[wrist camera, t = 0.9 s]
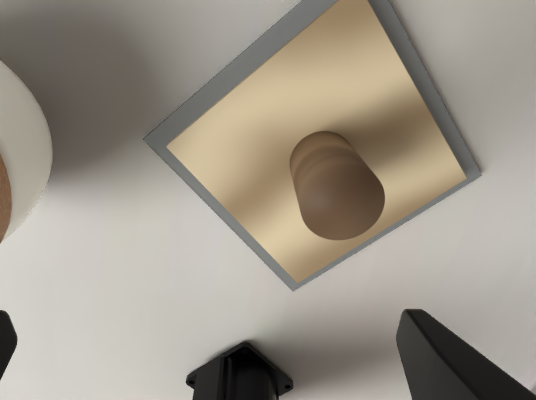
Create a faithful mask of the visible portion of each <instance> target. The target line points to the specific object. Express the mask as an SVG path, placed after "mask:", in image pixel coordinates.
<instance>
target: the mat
mask: <svg viewBox="0 0 536 400" xmlns="http://www.w3.org/2000/svg"><path fill="white" fill-rule="evenodd" d="M336 1H337V0H302V1H301V2H300V3H299V4H298V5H296V6H295V7H294V8H293V9H292V10H291V11H290V12H288V13H287V14H286V15H285V16H284V17H283V18H282V19H280V20H279V21H278V22H277V23H276V24H275V25H273V26H272V27H271V28H270V29H269V30H268V31H267V32H265V33H264V34H263V35H262V36H261V37H260V38H259V39H257V40H256V41H255V42H254V43H253V44H252V45H251V46H249V47H248V48H247V49H246V50H245V51H244V52H242V53H241V54H240V55H239V56H238V57H237V58H236V59H234V60H233V61H232V62H231V63H230V64H229V65H228V66H226V67H225V68H224V69H223V70H222V71H221V72H220V73H218V74H217V75H216V76H215V77H214V78H213V79H212V80H210V81H209V82H208V83H207V84H206V85H205V86H203V87H202V88H201V89H200V90H199V91H198V92H197V93H195V94H194V95H193V96H192V97H191V98H190V99H189V100H187V101H186V102H185V103H184V104H183V105H182V106H181V107H179V108H178V109H177V110H176V111H175V112H174V113H173V114H171V115H170V116H169V117H168V118H167V119H166V120H164V121H163V122H162V123H161V124H160V125H159V126H158V127H156V128H155V129H154V130H153V131H152V132H151V133H150V134H148V135H147V136H146V137H145V138H144V139H143V140H144V141H145V142H146V143H147V144H148V145H149V146H150V147H151V148H152V149H153V150H154V151H155V152H156V153H157V154H158V155H159V156H160V157H161V158H162V159H163V160H164V161H165V162H166V163H167V164H168V165H169V166H170V167H171V168H172V169H173V170H174V171H175V172H176V173H177V174H178V175H179V176H180V177H181V178H182V179H183V180H184V181H185V182H186V183H187V184H188V185H189V187H190V188H191V189H192V190H193V191H194V192H195V193H196V194H197V195H198V196H199V197H200V198H201V199H202V200H203V201H204V202H205V203H206V204H207V205H208V206H209V207H210V208H211V209H212V210H213V211H214V212H215V213H216V214H217V215H218V216H219V217H220V218H221V219H222V220H223V221H224V222H225V223H226V224H227V225H228V226H229V227H230V228H231V229H232V230H233V231H234V232H235V233H236V234H237V235H238V236H239V237H240V238H241V239H242V240H243V241H244V242H245V243H246V244H247V245H248V246H249V247H250V248H251V249H252V250H253V251H254V252H255V253H256V254H257V255H258V257H259V258H260V259H261V260H262V261H263V262H264V263H265V264H266V265H267V266H268V267H269V268H270V269H271V270H272V271H273V272H274V273H275V274H276V275H277V276H278V277H279V278H280V279H281V280H282V281H283V282H284V283H285V284H286V285H287V286H288V287H289V288H290V289H291V290H292V291H295V290H296V289H298V288H300V287H301V286H303V285H304V284H306V283H308V282H309V281H311V280H313V279H314V278H316V277H318V276H319V275H321V274H322V273H324V272H326V271H327V270H329V269H331V268H332V267H334V266H335V265H337V264H339V263H340V262H342V261H344V260H345V259H347V258H348V257H350V256H352V255H353V254H355V253H357V252H358V251H360V250H361V249H363V248H365V247H366V246H368V245H370V244H371V243H373V242H374V241H376V240H378V239H379V238H381V237H383V236H384V235H386V234H387V233H389V232H391V231H392V230H394V229H396V228H397V227H399V226H400V225H402V224H404V223H405V222H407V221H409V220H410V219H412V218H413V217H415V216H417V215H418V214H420V213H422V212H423V211H425V210H426V209H428V208H430V207H431V206H433V205H435V204H436V203H438V202H440V201H441V200H443V199H444V198H446V197H448V196H449V195H451V194H453V193H454V192H456V191H457V190H459V189H461V188H462V187H464V186H466V185H467V184H469V183H470V182H472V181H474V180H475V179H477V178H479V177H480V176H482V175H481V173H480V171H479V169H478V167H477V166H476V164H475V162H474V160H473V158H472V156H471V154H470V152H469V151H468V149H467V147H466V145H465V143H464V141H463V139H462V137H461V136H460V134H459V132H458V130H457V128H456V126H455V124H454V122H453V121H452V119H451V117H450V115H449V113H448V111H447V109H446V107H445V106H444V104H443V102H442V100H441V98H440V96H439V94H438V92H437V91H436V89H435V87H434V85H433V83H432V81H431V79H430V77H429V76H428V74H427V72H426V70H425V68H424V66H423V64H422V62H421V61H420V59H419V57H418V55H417V53H416V51H415V49H414V47H413V46H412V44H411V42H410V40H409V38H408V36H407V34H406V32H405V31H404V29H403V27H402V25H401V23H400V21H399V19H398V17H397V16H396V14H395V12H394V10H393V8H392V6H391V4H390V2H389V1H388V0H368V2H369V4H370V6H371V8H372V9H373V11H374V13H375V15H376V17H377V18H378V20H379V22H380V24H381V26H382V27H383V29H384V31H385V33H386V34H387V36H388V38H389V40H390V42H391V43H392V45H393V47H394V49H395V51H396V52H397V54H398V56H399V58H400V60H401V61H402V63H403V65H404V67H405V69H406V70H407V72H408V74H409V76H410V77H411V79H412V81H413V83H414V85H415V86H416V88H417V90H418V92H419V94H420V95H421V97H422V99H423V101H424V103H425V104H426V106H427V108H428V110H429V112H430V113H431V115H432V117H433V119H434V120H435V122H436V124H437V126H438V128H439V129H440V131H441V133H442V135H443V137H444V138H445V140H446V142H447V144H448V146H449V147H450V149H451V151H452V153H453V154H454V156H455V158H456V160H457V162H458V163H459V165H460V167H461V169H462V171H463V172H464V174H465V176H466V178H467V179H465V180H463V181H462V182H460V183H459V184H457V185H455V186H454V187H452V188H451V189H449V190H447V191H446V192H444V193H442V194H441V195H439V196H438V197H436V198H434V199H433V200H431V201H430V202H428V203H426V204H425V205H423V206H421V207H420V208H418V209H417V210H415V211H413V212H412V213H410V214H409V215H407V216H405V217H404V218H402V219H400V220H399V221H397V222H396V223H394V224H392V225H391V226H389V227H388V228H386V229H384V230H383V231H381V232H380V233H378V234H376V235H375V236H373V237H371V238H370V239H368V240H367V241H365V242H363V243H362V244H360V245H359V246H357V247H355V248H354V249H352V250H350V251H349V252H347V253H346V254H344V255H342V256H341V257H339V258H338V259H336V260H334V261H333V262H331V263H329V264H328V265H326V266H325V267H323V268H321V269H320V270H318V271H317V272H315V273H313V274H312V275H310V276H309V277H307V278H305V279H304V280H302V281H300V282H299V283H297V282H296V281H295V280H294V279H293V278H292V277H291V276H290V275H289V274H288V273H287V272H286V271H285V270H284V269H283V268H282V267H281V266H280V265H279V264H278V263H277V261H276V260H275V259H274V258H273V257H272V256H271V255H270V254H269V253H268V252H267V251H266V250H265V249H264V248H263V247H262V246H261V245H260V244H259V243H258V242H257V241H256V240H255V239H254V238H253V237H252V236H251V234H250V233H249V232H248V231H247V230H246V229H245V228H244V227H243V226H242V225H241V224H240V223H239V222H238V221H237V220H236V219H235V218H234V217H233V216H232V215H231V214H230V213H229V212H228V211H227V210H226V209H225V208H224V206H223V205H222V204H221V203H220V202H219V201H218V200H217V199H216V198H215V197H214V196H213V195H212V194H211V193H210V192H209V191H208V190H207V189H206V188H205V187H204V186H203V185H202V184H201V183H200V182H199V181H198V179H197V178H196V177H195V176H194V175H193V174H192V173H191V172H190V171H189V170H188V169H187V168H186V167H185V166H184V165H183V164H182V163H181V162H180V161H179V160H178V159H177V158H176V157H175V156H174V155H173V154H172V152H171V151H170V150H169V149H168V148H167V147H166V146H167V145H168V143H169V142H170V141H171V140H172V139H174V138H175V137H176V136H177V135H178V134H180V133H181V132H182V131H183V130H184V129H185V128H187V127H188V126H189V125H190V124H191V123H193V122H194V121H195V120H196V119H197V118H198V117H200V116H201V115H202V114H203V113H204V112H206V111H207V110H208V109H209V108H210V107H211V106H213V105H214V104H215V103H216V102H217V101H219V100H220V99H221V98H222V97H223V96H225V95H226V94H227V93H228V92H229V91H230V90H232V89H233V88H234V87H235V86H236V85H238V84H239V83H240V82H241V81H242V80H243V79H245V78H246V77H247V76H248V75H249V74H251V73H252V72H253V71H254V70H255V69H256V68H258V67H259V66H260V65H261V64H262V63H264V62H265V61H266V60H267V59H268V58H269V57H271V56H272V55H273V54H274V53H275V52H277V51H278V50H279V49H280V48H281V47H282V46H284V45H285V44H286V43H287V42H288V41H290V40H291V39H292V38H293V37H294V36H295V35H297V34H298V33H299V32H300V31H301V30H303V29H304V28H305V27H306V26H307V25H309V24H310V23H311V22H312V21H313V20H314V19H316V18H317V17H318V16H319V15H320V14H322V13H323V12H324V11H325V10H326V9H327V8H329V7H330V6H331V5H332V4H333V3H335V2H336Z"/></svg>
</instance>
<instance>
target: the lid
mask: <svg viewBox="0 0 536 400" xmlns="http://www.w3.org/2000/svg"><path fill="white" fill-rule="evenodd" d="M166 147H167V148H168V149H169V150H170V151H171V152H172V154H173V155H174V156H175V157H176V158H177V159H178V160H179V161H180V162H181V163H182V164H183V165H184V166H185V167H186V168H187V169H188V170H189V171H190V172H191V173H192V174H193V175H194V176H195V177H196V178H197V179H198V181H199V182H200V183H201V184H202V185H203V186H204V187H205V188H206V189H207V190H208V191H209V192H210V193H211V194H212V195H213V196H214V197H215V198H216V199H217V200H218V201H219V202H220V203H221V204H222V205H223V206H224V208H225V209H226V210H227V211H228V212H229V213H230V214H231V215H232V216H233V217H234V218H235V219H236V220H237V221H238V222H239V223H240V224H241V225H242V226H243V227H244V228H245V229H246V230H247V231H248V232H249V233H250V234H251V236H252V237H253V238H254V239H255V240H256V241H257V242H258V243H259V244H260V245H261V246H262V247H263V248H264V249H265V250H266V251H267V252H268V253H269V254H270V255H271V256H272V257H273V258H274V259H275V260H276V261H277V263H278V264H279V265H280V266H281V267H282V268H283V269H284V270H285V271H286V272H287V273H288V274H289V275H290V276H291V277H292V278H293V279H294V280H295V281H296V282H297V283H299V282H300V281H302V280H304V279H305V278H307V277H309V276H310V275H312V274H313V273H315V272H317V271H318V270H320V269H321V268H323V267H325V266H326V265H328V264H329V263H331V262H333V261H334V260H336V259H338V258H339V257H341V256H342V255H344V254H346V253H347V252H349V251H350V250H352V249H354V248H355V247H357V246H359V245H360V244H362V243H363V242H365V241H367V240H368V239H370V238H371V237H373V236H375V235H376V234H378V233H380V232H381V231H383V230H384V229H386V228H388V227H389V226H391V225H392V224H394V223H396V222H397V221H399V220H400V219H402V218H404V217H405V216H407V215H409V214H410V213H412V212H413V211H415V210H417V209H418V208H420V207H421V206H423V205H425V204H426V203H428V202H430V201H431V200H433V199H434V198H436V197H438V196H439V195H441V194H442V193H444V192H446V191H447V190H449V189H451V188H452V187H454V186H455V185H457V184H459V183H460V182H462V181H463V180H465V179H467V178H466V176H465V174H464V172H463V171H462V169H461V167H460V165H459V163H458V162H457V160H456V158H455V156H454V154H453V153H452V151H451V149H450V147H449V146H448V144H447V142H446V140H445V138H444V137H443V135H442V133H441V131H440V129H439V128H438V126H437V124H436V122H435V120H434V119H433V117H432V115H431V113H430V112H429V110H428V108H427V106H426V104H425V103H424V101H423V99H422V97H421V95H420V94H419V92H418V90H417V88H416V86H415V85H414V83H413V81H412V79H411V77H410V76H409V74H408V72H407V70H406V69H405V67H404V65H403V63H402V61H401V60H400V58H399V56H398V54H397V52H396V51H395V49H394V47H393V45H392V43H391V42H390V40H389V38H388V36H387V34H386V33H385V31H384V29H383V27H382V26H381V24H380V22H379V20H378V18H377V17H376V15H375V13H374V11H373V9H372V8H371V6H370V4H369V2H368V0H337V1H336V2H335V3H333V4H332V5H331V6H330V7H329V8H327V9H326V10H325V11H324V12H323V13H322V14H320V15H319V16H318V17H317V18H316V19H314V20H313V21H312V22H311V23H310V24H309V25H307V26H306V27H305V28H304V29H303V30H301V31H300V32H299V33H298V34H297V35H295V36H294V37H293V38H292V39H291V40H290V41H288V42H287V43H286V44H285V45H284V46H282V47H281V48H280V49H279V50H278V51H277V52H275V53H274V54H273V55H272V56H271V57H269V58H268V59H267V60H266V61H265V62H264V63H262V64H261V65H260V66H259V67H258V68H256V69H255V70H254V71H253V72H252V73H251V74H249V75H248V76H247V77H246V78H245V79H243V80H242V81H241V82H240V83H239V84H238V85H236V86H235V87H234V88H233V89H232V90H230V91H229V92H228V93H227V94H226V95H225V96H223V97H222V98H221V99H220V100H219V101H217V102H216V103H215V104H214V105H213V106H211V107H210V108H209V109H208V110H207V111H206V112H204V113H203V114H202V115H201V116H200V117H198V118H197V119H196V120H195V121H194V122H193V123H191V124H190V125H189V126H188V127H187V128H185V129H184V130H183V131H182V132H181V133H180V134H178V135H177V136H176V137H175V138H174V139H172V140H171V141H170V142H169V143H168V145H167V146H166Z"/></svg>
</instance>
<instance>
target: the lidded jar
mask: <svg viewBox="0 0 536 400" xmlns="http://www.w3.org/2000/svg"><path fill="white" fill-rule="evenodd" d="M52 161H53V147H52V141H51V135H50V130H49V127H48V124H47V121H46V118H45V116H44V114H43V112H42V110H41V108H40V105H39V104H38V102H37V101H36V99H35V97H34V96H33V94H32V93H31V91H30V90H29V89H28V88H27V87H26V85H25V84H24V83H23V82H22V81H21V79H20V78H19V77H18V76H17V75H16V74H15V73H13V72H12V71H11V70H10V69H9V68H8V67H7V66H6V65H5V64H4V63H3V62H2V61H0V244H1V243H2V242H3V241H4V240H5V239H6V238H7V237H8V236H9V235H11V234H12V233H13V232H14V231H15V230H16V229H17V228H18V227H19V226H20V225H21V224H22V223H23V221H24V220H25V219H26V218H27V216H28V215H29V214H30V213H31V211H32V210H33V208H34V207H35V206H36V204H37V203H38V201H39V199H40V198H41V196H42V194H43V192H44V190H45V188H46V185H47V183H48V180H49V176H50V171H51V166H52Z"/></svg>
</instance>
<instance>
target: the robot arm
mask: <svg viewBox="0 0 536 400" xmlns="http://www.w3.org/2000/svg"><path fill="white" fill-rule="evenodd" d="M396 341H397V346H398V350H399V354H400V357H401V361H402V364H403V368H404V371H405V375H406V379H407V382H408V386H409V389H410V393H411V397H412V400H536V395H535V394H533V393H532V392H531V391H529V390H528V389H527V388H526V387H524V386H523V385H522V384H520V383H519V382H518V381H516V380H515V379H514V378H512V377H511V376H510V375H508V374H507V373H506V372H504V371H503V370H502V369H500V368H499V367H498V366H497V365H495V364H494V363H493V362H491V361H490V360H489V359H487V358H486V357H485V356H483V355H482V354H481V353H479V352H478V351H477V350H475V349H474V348H473V347H472V346H470V345H469V344H468V343H466V342H465V341H464V340H462V339H461V338H460V337H458V336H457V335H456V334H454V333H453V332H452V331H450V330H449V329H448V328H446V327H445V326H444V325H443V324H441V323H440V322H439V321H437V320H436V319H435V318H433V317H432V316H431V315H429V314H428V313H427V312H425V311H424V310H422V309H405V310H404V311H403V312H402V315H401V319H400V323H399V326H398V330H397V334H396ZM16 345H17V334H16V332H15V329H14V327H13V324H12V322H11V319H10V317H9V315H8V313H7V312H6V311H3V310H0V380H1V378H2V376H3V374H4V372H5V369H6V367H7V365H8V363H9V361H10V359H11V357H12V355H13V353H14V351H15V348H16ZM186 384H187V385H188V386H190V387H191V388H193V389H194V394H193V400H279V396H280V395H282V394H284V393H286V392H288V391H290V390H292V389H293V381H292V380H291V379H290V378H289V377H288V376H287V375H286V374H284V373H283V372H282V371H281V370H280V369H279V368H277V367H276V366H275V365H274V364H273V363H272V362H270V361H269V360H268V359H267V358H266V357H264V356H263V355H262V354H261V353H260V352H259V351H257V350H256V349H255V348H254V347H253V346H252V345H250V344H249V343H246V342H245V343H241V344H239V345H237V346H236V347H234V348H232V349H231V350H229V351H227V352H226V353H224V354H222V355H221V356H219V357H217V358H216V359H214V360H212V361H211V362H209V363H207V364H206V365H204V366H202V367H201V368H199V369H197V370H196V371H194V372H192V373H190V374H189V375H188V376H187V378H186Z"/></svg>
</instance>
